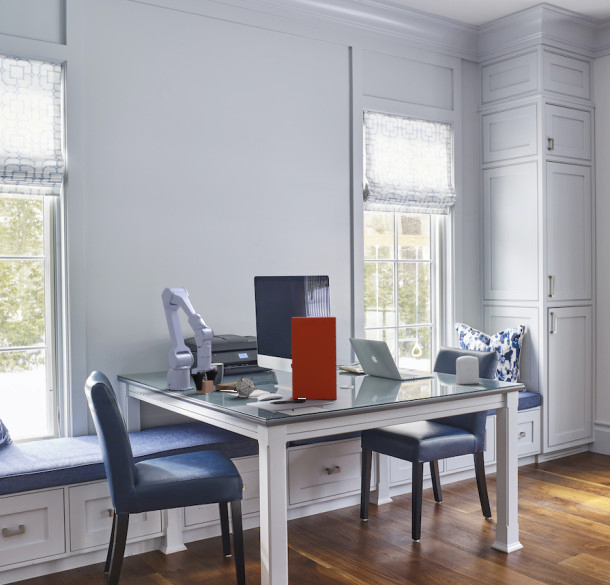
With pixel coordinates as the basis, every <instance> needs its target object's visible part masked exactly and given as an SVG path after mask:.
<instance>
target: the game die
mask: <svg viewBox="0 0 610 585" xmlns="http://www.w3.org/2000/svg"><path fill="white" fill-rule="evenodd" d="M237 382H238V383H237V384H236V385H233V386H235V387H236V389H237V392H238V393H237V394H238V396H239V397H240V396H241V397H247V398H248V397H249V398H250V396H251V394H252V393H253V392H254V391H257V390H258V389H257V388H256V386H254V384H253V383H254V382H253V376H252V377H251V378H244V377H243V376H242V377H241V378H240V380H239V381H237ZM249 395H250V396H249Z"/></svg>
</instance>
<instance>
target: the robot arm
mask: <svg viewBox="0 0 610 585" xmlns="http://www.w3.org/2000/svg"><path fill="white" fill-rule="evenodd" d="M189 297H190V294H189V292H188V290H187V289H186V288H185V287H165V288H164V289H163V291H162V293H161V301H162V305H163V308H164V315H165V320H166V324H167V329H168V333H169V339H170V343H171V346H172V347H171V349H170V350H169V351H168V352H167V354H168V359H167V360H168V365H169V367H170V369H168V371H167V374H166V388H165V389H166V390H169V389H170V391H180V390H182V392H183V390H184V391H187V390H192V388H193V389H195V391H196V390H198V391H201V390H202V381H203V380H204V377H205V376H206V380H211V381H213V386H214V385H215V380H216V377H217V376H218V373H219V371H218V366H217V365H215V364H214V365H212V341H213V339H214V338H215V333H214V330H213V328H212V327H209V326H208V325H207V324H206V323H205V321H204V319H203V317H202V316H201V314H199V313H196V311H195V309H194V308H193V305H192V303H191V302H190V299H189ZM180 308H181V309H182V310H183V312H184V313H185V315H187V322H188V324H189V326H190V327H191V328H192V331H193V332H194V335H193V338H194V341H195V345H196V347H197V348H196V349H197V352H196V353H197V354H196V355H197V356H196V357H197V366H196V367H195V368H192V366H193V364H194V363H195V362H194V360H195V359H194V356H193V354H192V352H191V349H190V347H188V346H187V345H186V344H185V340H184V336H183V331H182V326H181V321H180V316H179V312H178V310H179V309H180ZM190 369H191V372H190ZM203 373H204V374H203ZM190 378H192V380H193V383H194V385H195V387H194V386H191V384H190V382H191V380H190Z"/></svg>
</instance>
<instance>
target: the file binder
mask: <svg viewBox="0 0 610 585" xmlns="http://www.w3.org/2000/svg"><path fill="white" fill-rule="evenodd" d="M337 377H338V376H337V317H336V316H292V317H291V393H292V394H291V396H292V399H298V398H306V399H320V400H337V399H338V397H337V396H338V390H337V389H338V388H337V385H338V384H337V382H338V381H337V379H338V378H337Z"/></svg>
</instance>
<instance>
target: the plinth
mask: <svg viewBox="0 0 610 585" xmlns="http://www.w3.org/2000/svg"><path fill="white" fill-rule="evenodd" d="M238 382H239V381H228V382H223V383H219V384H214V385H215V387H214V389H215V390H234V391H237V389H236V387H235V386H233V385H236V384H237V383H238ZM253 384H254V386H255V385H256V383H255V382H253ZM255 387H256V386H255Z"/></svg>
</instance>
